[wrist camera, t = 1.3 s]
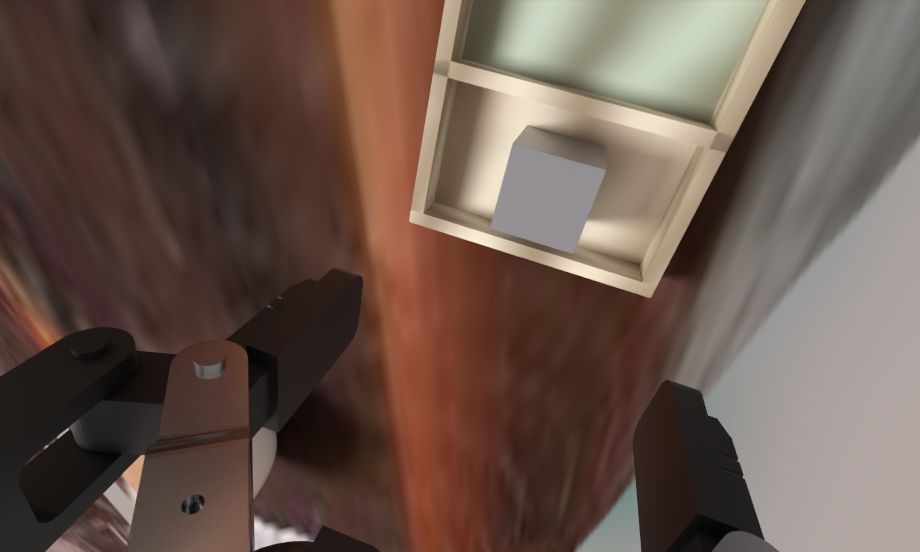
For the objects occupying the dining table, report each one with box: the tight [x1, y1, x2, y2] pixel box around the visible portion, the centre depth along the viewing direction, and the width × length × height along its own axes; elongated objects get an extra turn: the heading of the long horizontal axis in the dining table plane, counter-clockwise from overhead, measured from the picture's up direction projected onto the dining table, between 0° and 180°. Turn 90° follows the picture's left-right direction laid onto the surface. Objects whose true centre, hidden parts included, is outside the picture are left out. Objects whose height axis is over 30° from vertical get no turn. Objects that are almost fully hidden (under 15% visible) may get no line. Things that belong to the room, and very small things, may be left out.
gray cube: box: [490, 125, 606, 254], centre depth 24 cm, size 4×4×5 cm
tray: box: [409, 0, 806, 298], centre depth 24 cm, size 15×18×3 cm
